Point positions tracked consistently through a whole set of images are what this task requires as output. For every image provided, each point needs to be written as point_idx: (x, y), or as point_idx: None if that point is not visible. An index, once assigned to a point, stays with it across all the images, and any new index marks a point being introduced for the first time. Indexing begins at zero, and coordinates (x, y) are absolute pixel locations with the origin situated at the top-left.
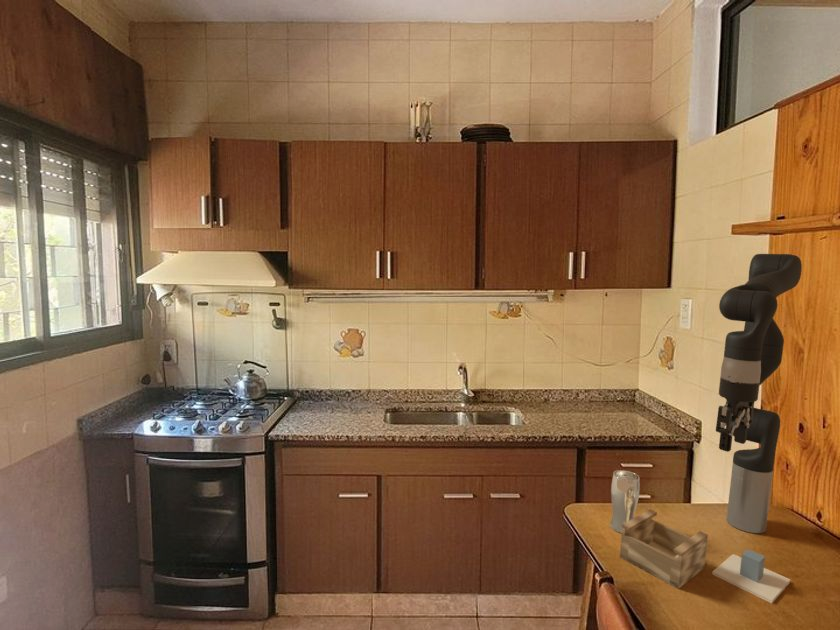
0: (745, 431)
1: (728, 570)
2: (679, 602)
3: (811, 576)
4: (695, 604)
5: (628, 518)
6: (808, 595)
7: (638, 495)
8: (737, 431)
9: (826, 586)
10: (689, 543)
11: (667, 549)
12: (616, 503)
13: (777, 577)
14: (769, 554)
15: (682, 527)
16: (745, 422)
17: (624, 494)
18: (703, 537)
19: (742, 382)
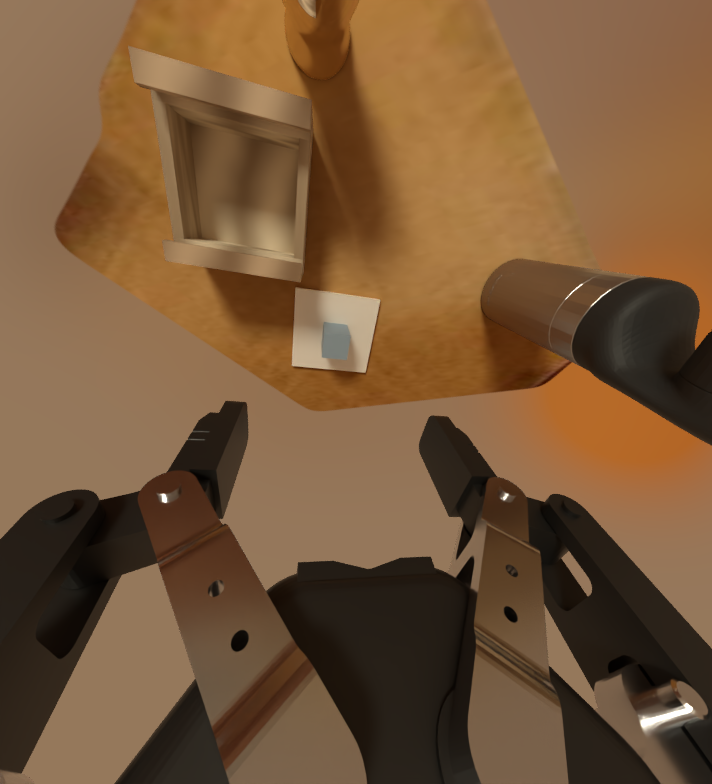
0: (443, 501)
1: (321, 306)
2: (163, 267)
3: (400, 385)
4: (186, 288)
5: (299, 38)
6: (349, 389)
7: (323, 16)
8: (451, 462)
9: (387, 399)
10: (224, 261)
11: (295, 195)
12: None
13: (358, 360)
14: (425, 339)
15: (428, 190)
16: (449, 568)
17: None
18: (280, 278)
19: None
